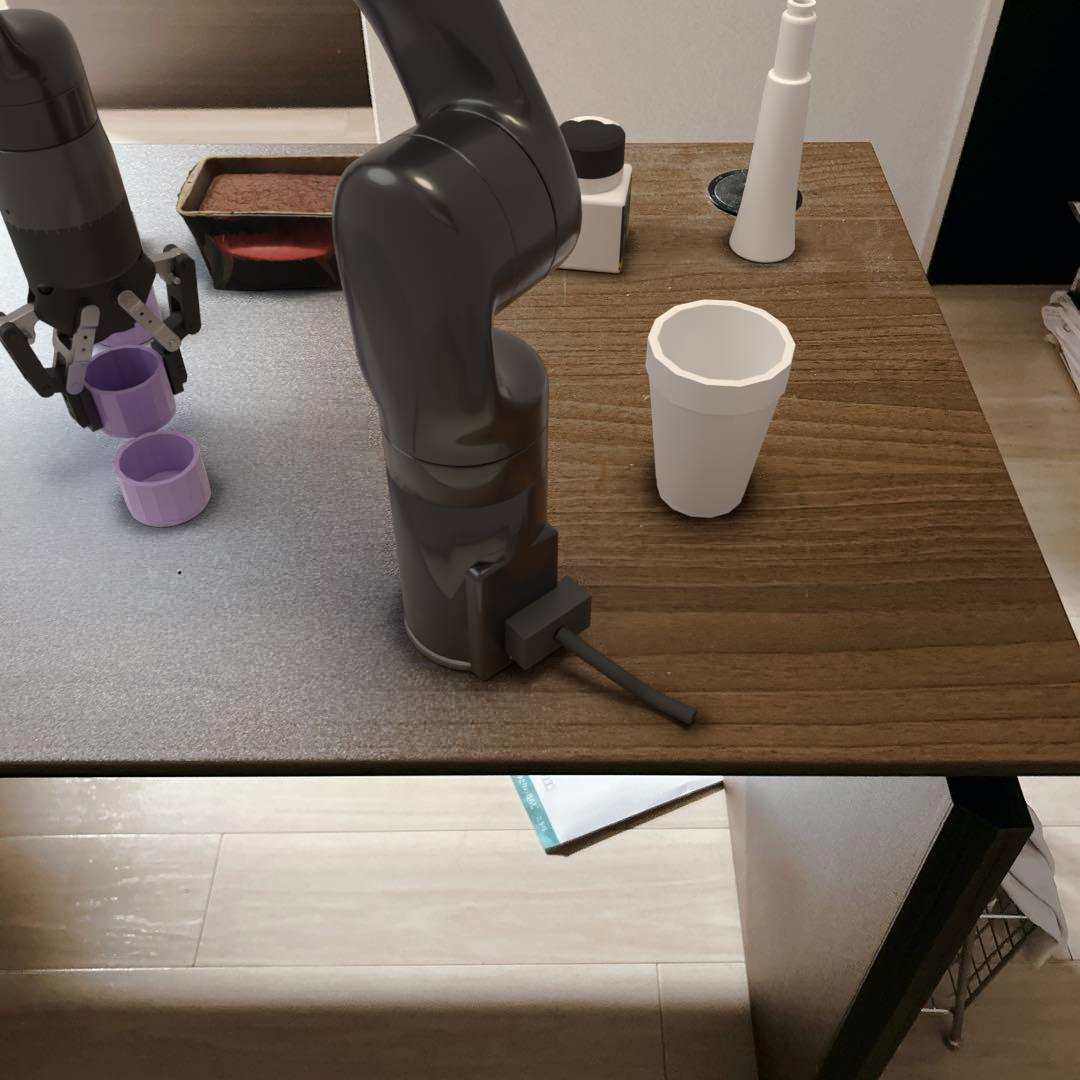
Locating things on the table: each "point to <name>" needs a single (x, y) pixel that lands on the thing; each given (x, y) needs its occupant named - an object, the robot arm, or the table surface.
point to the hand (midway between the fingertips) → (134, 405)
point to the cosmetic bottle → (778, 145)
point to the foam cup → (713, 399)
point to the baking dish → (265, 219)
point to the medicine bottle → (599, 192)
